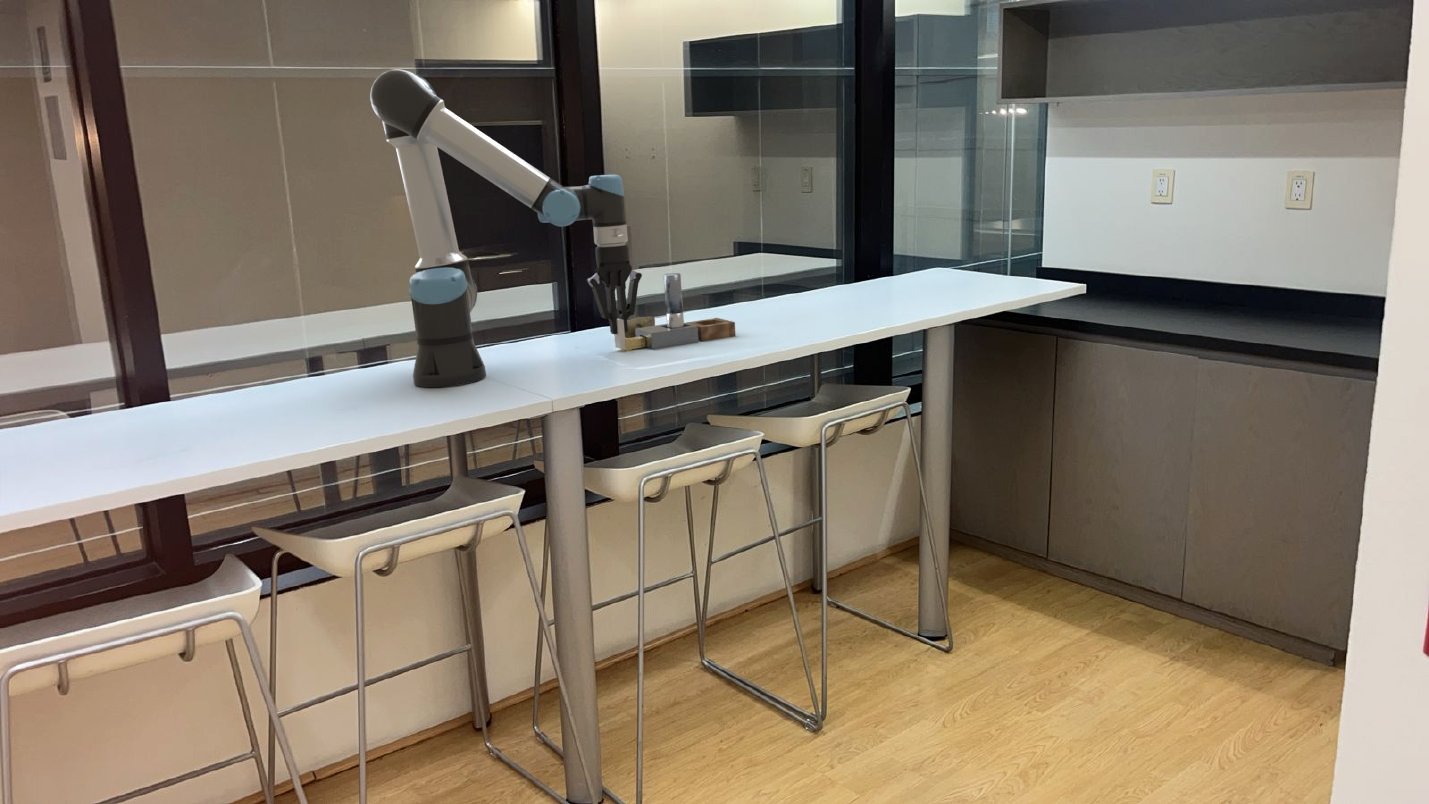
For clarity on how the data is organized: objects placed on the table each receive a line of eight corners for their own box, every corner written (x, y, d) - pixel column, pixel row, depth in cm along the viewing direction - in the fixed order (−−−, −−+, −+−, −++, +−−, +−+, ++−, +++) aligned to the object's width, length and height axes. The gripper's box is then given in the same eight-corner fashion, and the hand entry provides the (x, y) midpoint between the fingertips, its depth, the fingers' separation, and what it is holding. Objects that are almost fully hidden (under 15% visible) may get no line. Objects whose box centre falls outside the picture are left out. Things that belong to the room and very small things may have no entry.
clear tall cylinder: (672, 343, 248) (667, 275, 244) (665, 341, 252) (660, 274, 248) (688, 341, 250) (683, 273, 246) (680, 339, 253) (675, 272, 250)
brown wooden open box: (702, 343, 249) (701, 327, 248) (685, 339, 257) (684, 322, 256) (735, 338, 253) (734, 322, 252) (717, 333, 261) (716, 317, 260)
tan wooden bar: (626, 351, 243) (625, 339, 243) (621, 349, 246) (620, 337, 245) (660, 346, 247) (659, 334, 247) (654, 344, 250) (653, 332, 249)
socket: (652, 352, 243) (651, 333, 242) (636, 346, 251) (635, 328, 250) (698, 344, 249) (697, 326, 248) (681, 339, 256) (680, 321, 255)
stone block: (657, 334, 267) (655, 315, 266) (643, 343, 256) (641, 323, 255) (635, 335, 268) (633, 315, 267) (620, 344, 258) (618, 324, 256)
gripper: (590, 248, 232) (600, 353, 238) (644, 242, 238) (653, 345, 244) (578, 246, 239) (588, 349, 245) (631, 240, 245) (639, 341, 250)
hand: (620, 347), depth 244 cm, fingers closed
